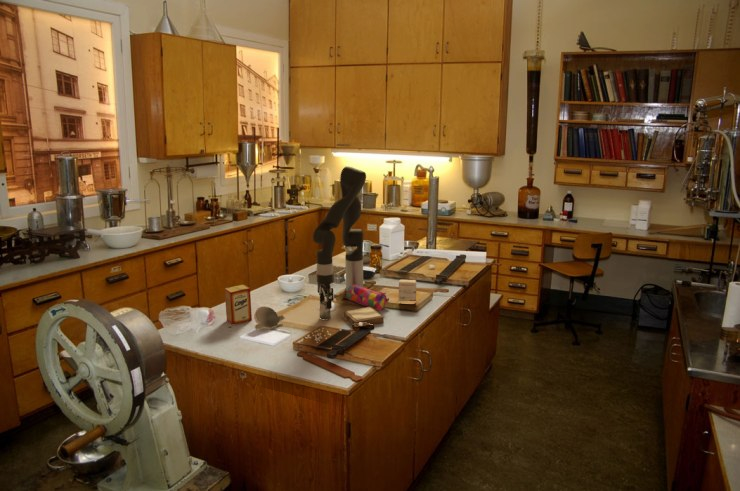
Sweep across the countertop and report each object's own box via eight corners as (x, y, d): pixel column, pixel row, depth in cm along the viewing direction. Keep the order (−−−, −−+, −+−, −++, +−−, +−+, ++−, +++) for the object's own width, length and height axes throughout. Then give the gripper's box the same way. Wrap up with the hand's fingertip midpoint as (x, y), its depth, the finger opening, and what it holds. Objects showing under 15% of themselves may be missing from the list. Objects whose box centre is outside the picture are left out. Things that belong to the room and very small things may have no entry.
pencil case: (390, 307, 276) (390, 290, 273) (378, 313, 269) (378, 295, 266) (356, 297, 289) (356, 281, 287) (344, 303, 282) (344, 285, 280)
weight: (318, 316, 264) (317, 300, 262) (328, 315, 266) (327, 298, 264) (322, 320, 259) (321, 304, 257) (332, 318, 261) (331, 302, 259)
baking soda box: (232, 325, 254) (230, 291, 250) (226, 320, 260) (224, 287, 255) (251, 320, 260) (249, 287, 256) (245, 316, 265) (243, 283, 261)
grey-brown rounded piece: (261, 332, 244) (251, 309, 245) (252, 337, 250) (242, 314, 251) (287, 322, 255) (278, 300, 256) (278, 327, 260) (269, 305, 262)
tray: (343, 317, 263) (343, 310, 262) (370, 312, 269) (370, 306, 268) (355, 328, 251) (355, 321, 250) (383, 322, 257) (383, 316, 256)
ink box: (416, 301, 283) (416, 279, 280) (415, 305, 278) (416, 282, 275) (398, 301, 284) (399, 278, 281) (398, 304, 279) (398, 282, 276)
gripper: (338, 275, 252) (339, 309, 256) (326, 267, 264) (327, 299, 268) (322, 277, 249) (323, 312, 253) (311, 269, 261) (312, 302, 265)
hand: (325, 305), depth 261 cm, fingers open, 8 cm apart
